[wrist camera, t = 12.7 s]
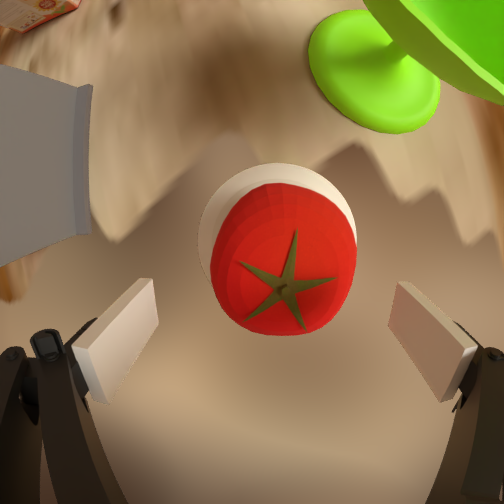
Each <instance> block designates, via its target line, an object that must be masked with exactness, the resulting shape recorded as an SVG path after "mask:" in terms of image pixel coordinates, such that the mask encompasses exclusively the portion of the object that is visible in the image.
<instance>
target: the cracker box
mask: <svg viewBox="0 0 504 504" xmlns="http://www.w3.org/2000/svg"><path fill="white" fill-rule="evenodd" d="M80 2H81V0H0V25H1V26H4V27H6V28H9V29H12V30H14V31H17V32H19V33H22V34H23V33H25V32H27V31H29V30H30V29H32V28H34V27H36V26H38V25H40V24H42V23H44V22H46V21H48V20H50V19H53V18H55V17H57V16H59V15H61V14H64V13H66V12H69V11H71V10H74V9H76V8H78V6H79V4H80Z"/></svg>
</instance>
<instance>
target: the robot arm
mask: <svg viewBox="0 0 504 504" xmlns="http://www.w3.org/2000/svg"><path fill="white" fill-rule="evenodd" d="M158 324H159V321H158V316H157V308H156V301H155V294H154V287H153V279H150V278H139V279H138V280H137V281H136V282H135V283H134V284H133V285H132V286H131V287H130V288H129V289H127V290H126V291H125V292H124V293H123V294H122V295H121V296H120V297H119V298H118V299H117V300H116V301H115V302H114V303H113V304H112V305H111V306H110V307H109V308H108V309H107V310H106V311H105V312H104V313H103V314H102V315H101V316H100V317H99V318H94V319H92V320H91V321H89V322H87V323H86V324H85V325H84V326H83V327H82V328H81V329H80V330H79V331H78V332H77V333H76V334H75V335H74V336H73V337H72V338H71V339H70V340H69V341H68V342H67V343H66V344H65V345H63V342H62V340H61V337H60V334H59V332H58V331H57V330H55V329H44V330H41V331H39V332H37V333H35V334H34V335H33V336H32V337H31V339H30V343H31V346H32V348H33V351H34V353H35V355H36V358H30V357H27V356H26V353H25V351H24V349H23V348H21V347H17V346H15V347H10V348H7V349H6V350H5V351H4V352H3V353H2V354H1V355H0V504H40V464H41V450H42V440H43V443H44V449H45V454H46V459H47V464H48V468H49V473H50V477H51V481H52V485H53V488H54V492H55V495H56V499H57V502H58V504H128V502H127V500H126V498H125V496H124V494H123V492H122V490H121V488H120V486H119V484H118V482H117V480H116V478H115V476H114V473H113V471H112V469H111V466H110V464H109V462H108V460H107V457H106V455H105V453H104V450H103V447H102V444H101V442H100V439H99V436H98V434H97V431H96V428H95V425H94V422H93V419H92V416H91V412H90V409H89V406H88V402H87V400H86V398H85V395H86V394H87V392H88V391H90V394H91V396H92V398H93V400H94V401H97V402H101V403H104V404H108V405H109V404H110V402H111V401H112V399H113V397H114V396H115V394H116V392H117V391H118V389H119V387H120V385H121V384H122V382H123V381H124V379H125V377H126V376H127V374H128V372H129V370H130V369H131V367H132V366H133V364H134V363H135V361H136V359H137V358H138V356H139V354H140V353H141V351H142V350H143V348H144V346H145V345H146V343H147V341H148V340H149V339H150V337H151V335H152V334H153V332H154V331H155V329H156V328H157V326H158ZM388 327H389V328H390V329H391V331H392V332H393V334H394V335H395V336H396V338H397V339H398V341H399V342H400V344H401V345H402V346H403V348H404V349H405V351H406V352H407V354H408V355H409V357H410V358H411V360H412V361H413V362H414V364H415V365H416V367H417V368H418V370H419V371H420V373H421V374H422V376H423V377H424V379H425V381H426V382H427V384H428V385H429V387H430V388H431V390H432V391H433V393H434V395H435V396H436V398H437V399H438V401H439V402H443V401H447V400H450V399H453V397H454V395H455V393H456V392H457V390H458V388H459V389H460V390H461V392H462V394H461V396H460V398H459V400H458V401H457V403H456V405H455V406H454V408H453V410H452V412H454V411H455V409H457V410H456V415H455V419H454V423H453V427H452V431H451V435H450V438H449V441H448V445H447V448H446V451H445V454H444V457H443V461H442V463H441V466H440V469H439V471H438V474H437V477H436V479H435V482H434V484H433V487H432V489H431V492H430V494H429V496H428V498H427V501H426V503H425V504H504V354H503V352H502V351H500V350H499V349H496V348H492V347H488V348H485V349H484V348H483V347H482V346H481V345H480V344H479V343H478V342H477V341H476V340H475V339H474V338H473V337H472V336H471V335H469V333H468V332H467V331H465V329H464V328H463V327H462V326H461V325H459V324H458V323H456V322H454V321H453V320H451V319H450V318H449V317H448V316H447V315H446V314H445V313H444V312H442V311H441V310H440V309H439V308H438V307H437V306H436V305H435V304H433V302H431V301H430V300H429V299H428V298H427V297H426V296H425V295H424V294H422V293H421V292H420V291H419V290H418V289H417V288H415V287H414V286H413V285H412V284H411V283H410V282H397V286H396V291H395V296H394V301H393V305H392V310H391V314H390V319H389V323H388ZM501 485H503V495H502V501H500V500H499V494H500V489H501Z"/></svg>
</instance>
